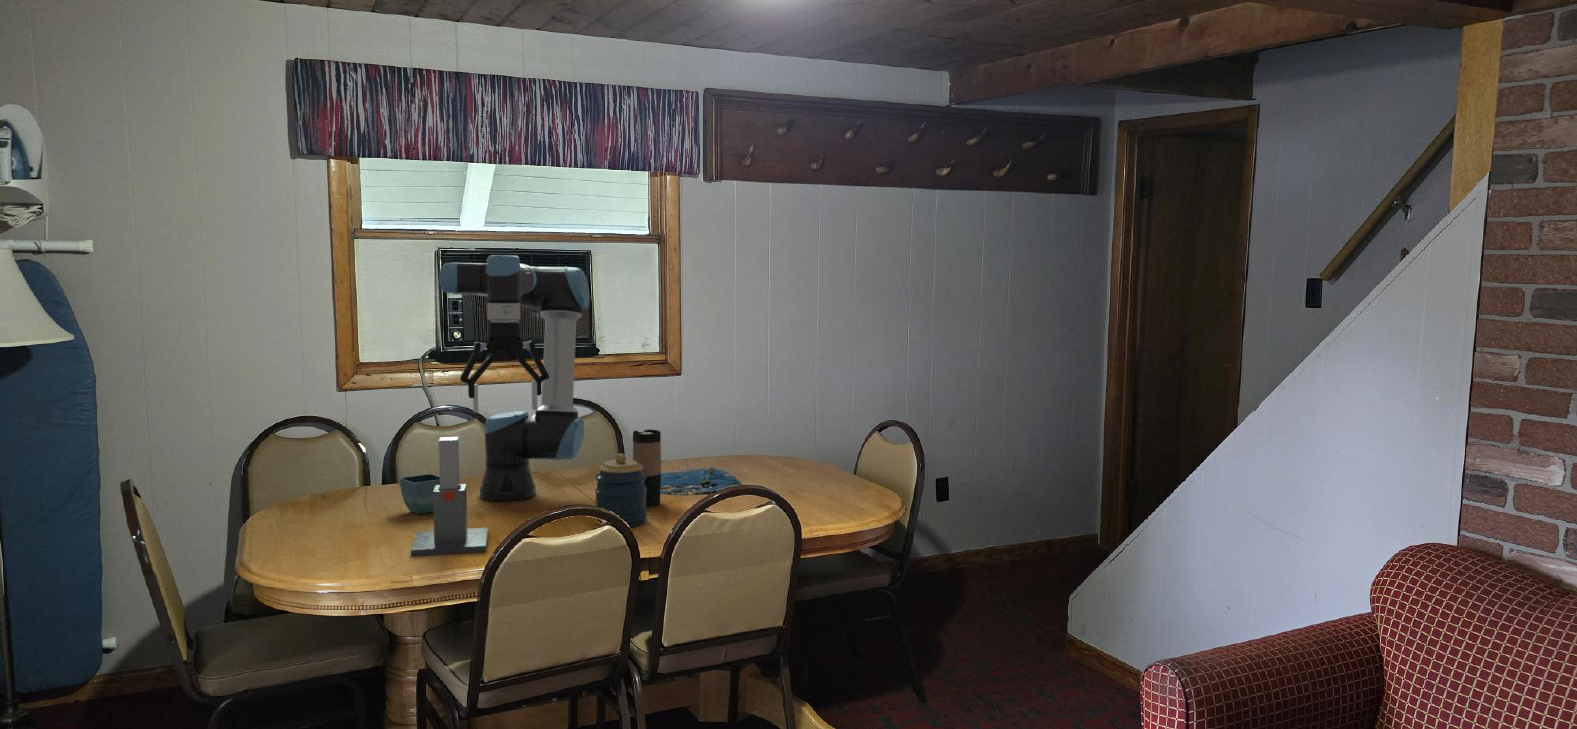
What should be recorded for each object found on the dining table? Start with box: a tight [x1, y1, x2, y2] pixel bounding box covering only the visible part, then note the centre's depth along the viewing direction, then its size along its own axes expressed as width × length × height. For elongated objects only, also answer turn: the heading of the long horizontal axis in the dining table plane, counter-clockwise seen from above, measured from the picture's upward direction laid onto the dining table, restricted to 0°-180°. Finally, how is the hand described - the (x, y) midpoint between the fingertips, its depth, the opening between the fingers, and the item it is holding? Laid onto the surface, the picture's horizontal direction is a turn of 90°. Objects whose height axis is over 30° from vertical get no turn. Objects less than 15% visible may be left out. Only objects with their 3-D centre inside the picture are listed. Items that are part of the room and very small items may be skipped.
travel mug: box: [632, 429, 662, 508], centre depth 276 cm, size 8×8×20 cm
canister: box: [594, 453, 648, 528], centre depth 257 cm, size 13×13×18 cm
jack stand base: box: [410, 483, 489, 558], centre depth 236 cm, size 16×16×14 cm
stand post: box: [438, 436, 461, 491], centre depth 235 cm, size 4×4×23 cm
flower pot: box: [399, 473, 440, 515], centre depth 266 cm, size 9×9×9 cm
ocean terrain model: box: [660, 466, 741, 495], centre depth 302 cm, size 30×30×5 cm
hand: (505, 410), depth 241 cm, fingers open, 13 cm apart
